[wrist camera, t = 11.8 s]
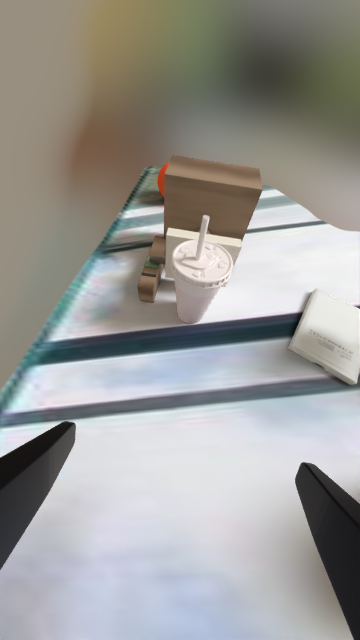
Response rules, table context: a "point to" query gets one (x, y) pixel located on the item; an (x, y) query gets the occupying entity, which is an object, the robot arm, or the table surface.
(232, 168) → the brown blocky piece
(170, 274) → the cream flat box
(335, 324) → the external hard drive
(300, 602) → the table surface
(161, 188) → the clementine
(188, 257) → the smoothie
